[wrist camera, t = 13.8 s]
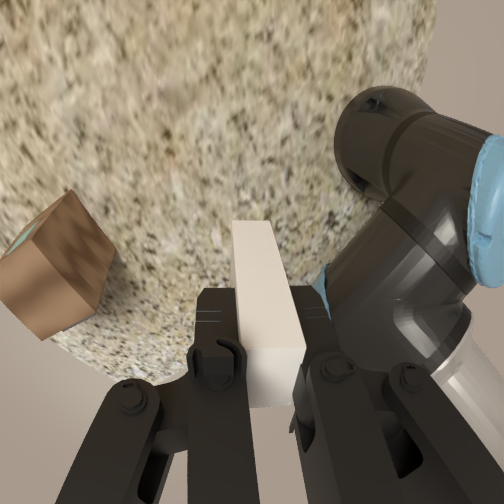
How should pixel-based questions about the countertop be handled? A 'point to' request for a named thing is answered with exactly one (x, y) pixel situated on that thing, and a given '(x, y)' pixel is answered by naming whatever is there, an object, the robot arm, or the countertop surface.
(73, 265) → the sleeve block
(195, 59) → the countertop surface
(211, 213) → the countertop surface
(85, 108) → the countertop surface
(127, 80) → the countertop surface
